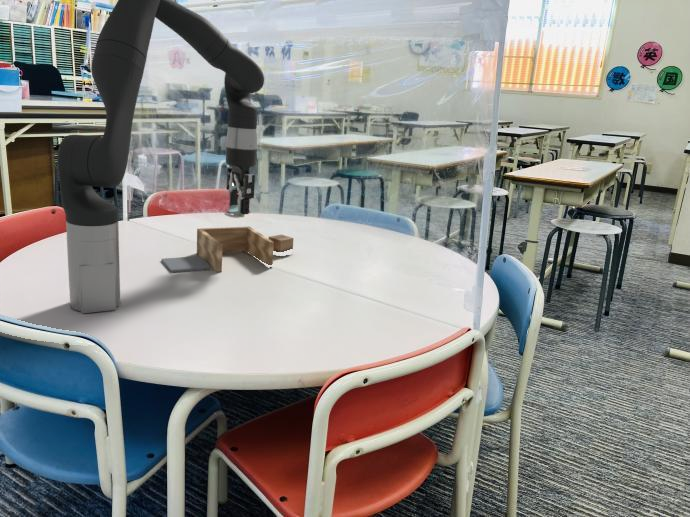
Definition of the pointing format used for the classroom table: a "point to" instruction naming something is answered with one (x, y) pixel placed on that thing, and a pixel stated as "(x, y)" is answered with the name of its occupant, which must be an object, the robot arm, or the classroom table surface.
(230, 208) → the pacifier
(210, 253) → the cubby
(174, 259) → the pad
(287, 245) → the walnut block
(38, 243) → the classroom table surface
